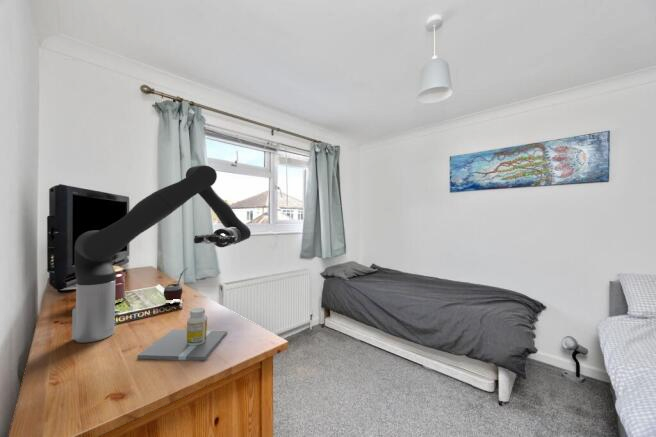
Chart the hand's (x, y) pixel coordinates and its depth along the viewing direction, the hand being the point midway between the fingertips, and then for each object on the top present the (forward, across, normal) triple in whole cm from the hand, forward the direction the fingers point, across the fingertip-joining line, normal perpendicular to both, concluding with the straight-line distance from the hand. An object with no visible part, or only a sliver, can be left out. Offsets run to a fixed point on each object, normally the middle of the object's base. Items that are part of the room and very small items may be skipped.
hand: (207, 240), depth 93 cm
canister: (-20, -52, +30) cm, 63 cm away
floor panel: (+14, +1, +30) cm, 33 cm away
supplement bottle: (+14, +4, +29) cm, 33 cm away
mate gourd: (-22, -24, +30) cm, 44 cm away
